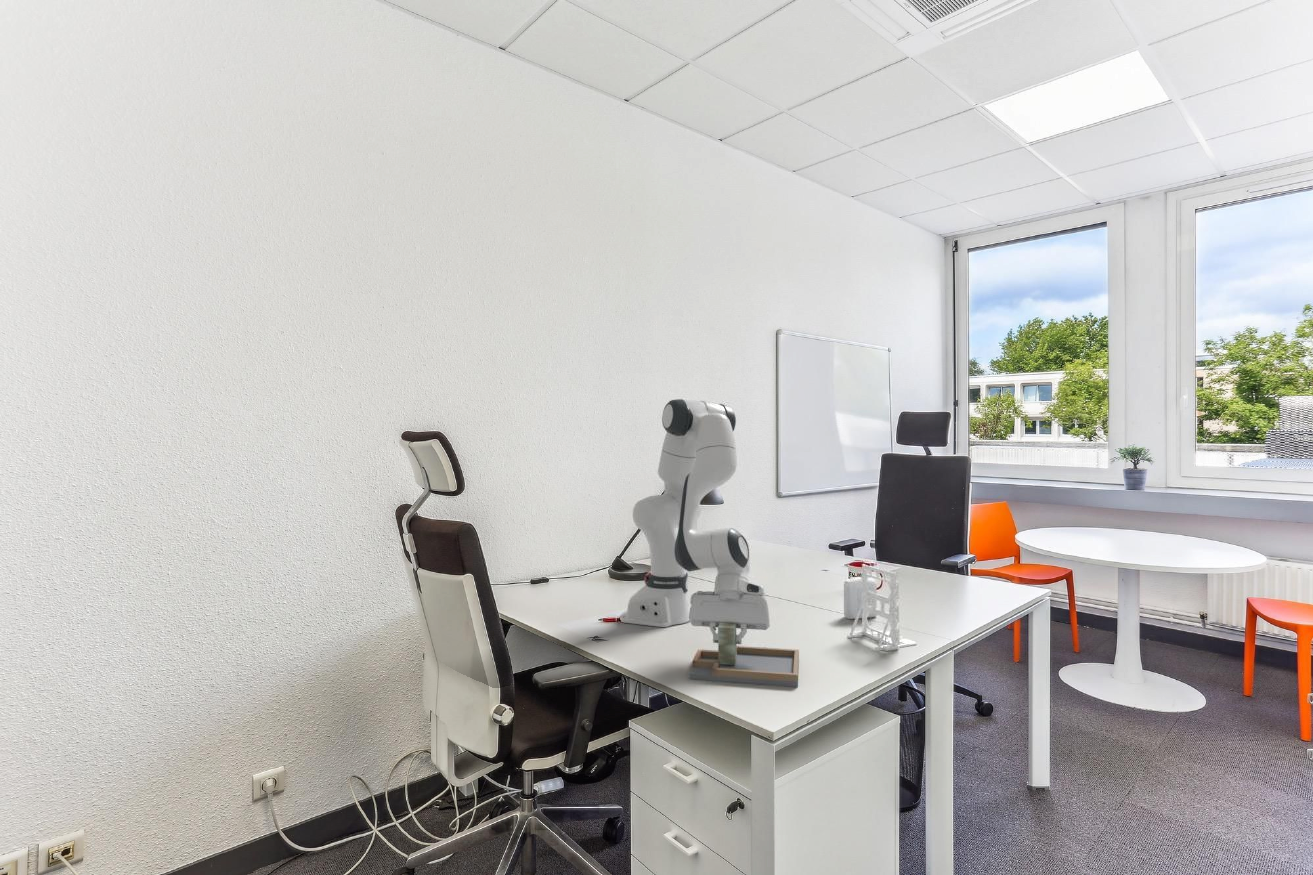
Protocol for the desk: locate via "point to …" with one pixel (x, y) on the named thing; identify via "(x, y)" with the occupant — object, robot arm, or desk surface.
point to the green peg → (727, 643)
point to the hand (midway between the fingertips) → (727, 642)
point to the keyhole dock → (749, 666)
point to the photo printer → (857, 596)
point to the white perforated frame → (881, 612)
